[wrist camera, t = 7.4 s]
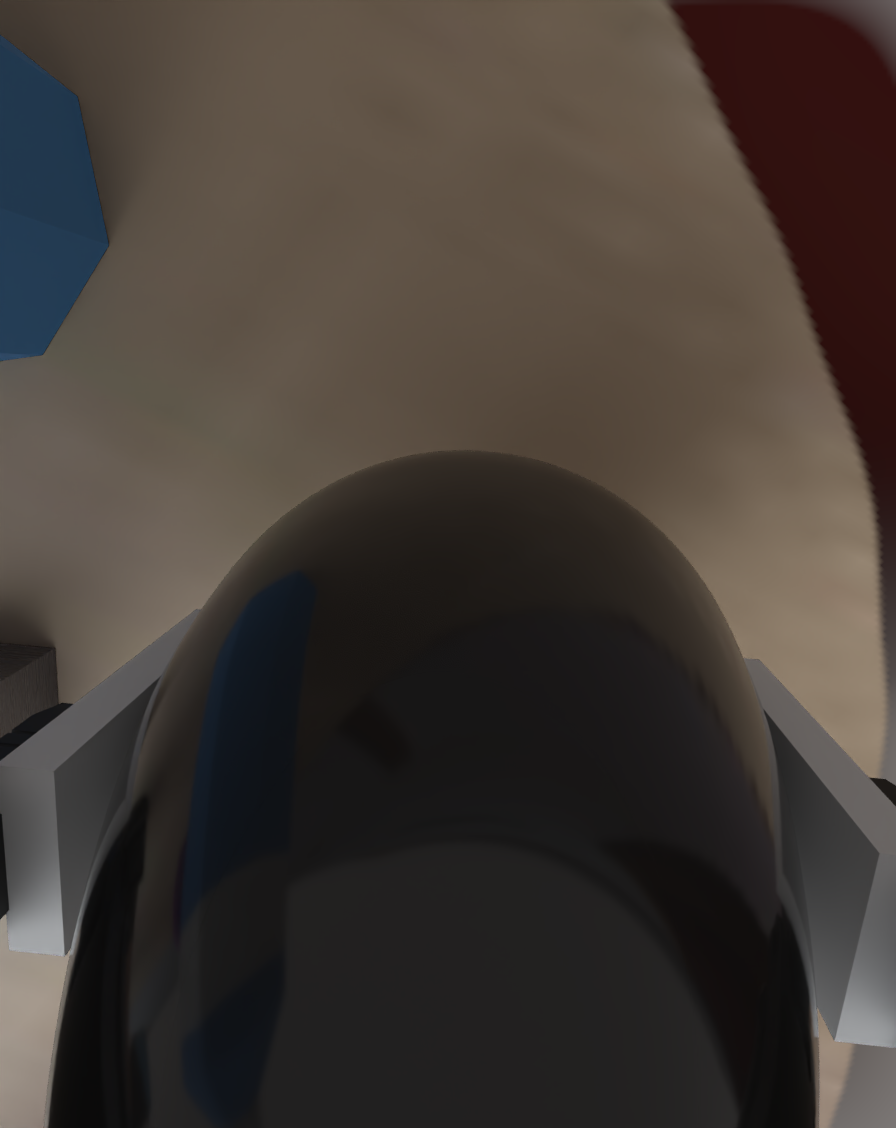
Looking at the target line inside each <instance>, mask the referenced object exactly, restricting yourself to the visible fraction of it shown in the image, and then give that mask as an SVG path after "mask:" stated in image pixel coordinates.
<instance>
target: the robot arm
mask: <svg viewBox="0 0 896 1128" xmlns="http://www.w3.org/2000/svg"><path fill="white" fill-rule="evenodd" d="M200 611H201V610H199V609H196V610H195V611H193V612H192V613H191V614H189V615H188V616H187V617H186V618H184V619H183V620H182V621H180V622H179V623H178V624H177V625H175V626H174V627H173V628H171V629H170V630H169V631H168V632H166V633H165V634H164V635H162V636H161V637H160V638H158V639H157V640H156V641H155V642H153V643H152V644H151V645H149V646H148V647H147V648H146V649H144V650H143V651H142V652H140V653H139V654H138V655H136V656H135V657H134V658H133V659H131V660H130V661H129V662H127V663H126V664H125V665H124V666H122V667H121V668H120V669H118V670H117V671H116V672H114V673H113V674H112V675H111V676H109V677H108V678H107V679H105V680H104V681H103V682H102V683H100V684H99V685H98V686H96V687H95V688H94V689H92V690H91V691H90V692H89V693H87V694H86V695H85V696H83V697H82V698H81V699H80V700H78V701H77V702H76V703H74V704H68V703H61V704H58V705H56V706H53V707H51V708H48V709H46V710H43V711H41V712H38V713H36V714H33V715H31V716H30V717H29V718H27V719H26V720H25V721H23V722H22V723H20V724H19V725H18V726H16V727H15V728H14V729H12V732H11V733H7V734H5V735H4V736H3V737H1V738H0V919H1V918H2V917H3V916H4V915H5V914H6V916H7V928H8V941H9V950H11V951H20V952H29V953H38V954H47V955H56V956H65V955H66V954H67V953H68V951H69V950H70V949H71V946H72V941H73V936H74V932H75V927H76V923H77V919H78V915H79V910H80V906H81V902H82V898H83V894H84V890H85V886H86V883H87V879H88V875H89V871H90V867H91V863H92V860H93V856H94V852H95V849H96V845H97V842H98V838H99V835H100V831H101V828H102V824H103V821H104V818H105V815H106V812H107V808H108V805H109V802H110V799H111V796H112V793H113V790H114V787H115V784H116V781H117V778H118V775H119V772H120V770H121V767H122V764H123V762H124V759H125V756H126V754H127V751H128V748H129V746H130V743H131V741H132V738H133V736H134V733H135V731H136V728H137V726H138V724H139V722H140V719H141V717H142V715H143V713H144V710H145V708H146V706H147V704H148V701H149V699H150V697H151V695H152V693H153V691H154V689H155V687H156V685H157V683H158V681H159V679H160V677H161V675H162V673H163V671H164V670H165V668H166V666H167V664H168V662H169V660H170V659H171V657H172V655H173V653H174V652H175V650H176V648H177V647H178V645H179V643H180V642H181V640H182V638H183V637H184V635H185V633H186V632H187V630H188V629H189V627H190V626H191V624H192V623H193V621H194V620H195V618H196V617H197V615H198V614H199V612H200ZM743 659H744V661H745V663H746V666H747V668H748V670H749V673H750V675H751V678H752V680H753V683H754V685H755V688H756V691H757V693H758V696H759V699H760V702H761V704H762V707H763V710H764V713H765V716H766V719H767V722H768V725H769V728H770V731H771V735H772V738H773V741H774V744H775V748H776V751H777V755H778V758H779V762H780V766H781V770H782V774H783V778H784V782H785V787H786V791H787V795H788V800H789V804H790V809H791V814H792V819H793V825H794V830H795V835H796V841H797V846H798V852H799V858H800V864H801V870H802V876H803V883H804V889H805V896H806V904H807V911H808V919H809V927H810V936H811V944H812V953H813V962H814V973H815V984H816V997H817V1007H818V1009H819V1011H820V1013H821V1015H822V1017H823V1019H824V1021H825V1023H826V1025H827V1027H828V1029H829V1031H830V1033H831V1035H832V1037H833V1039H834V1041H837V1042H846V1043H855V1044H864V1045H873V1046H883V1047H892V1048H896V786H895V785H894V784H892V783H890V782H889V781H887V780H886V779H878V778H869V777H868V776H867V775H866V774H865V773H864V772H863V771H862V770H861V769H860V767H859V766H858V765H857V764H856V763H855V762H854V761H853V760H852V759H851V758H850V757H849V756H848V755H847V753H846V752H845V751H844V750H843V749H842V748H841V747H840V746H839V745H838V744H837V743H836V742H835V741H834V739H833V738H832V737H831V736H830V735H829V734H828V733H827V732H826V731H825V730H824V729H823V728H822V727H821V725H820V724H819V723H818V722H817V721H816V720H815V719H814V718H813V717H812V716H811V715H810V714H809V713H808V711H807V710H806V709H805V708H804V707H803V706H802V705H801V704H800V703H799V702H798V701H797V700H796V699H795V697H794V696H793V695H792V694H791V693H790V692H789V691H788V690H787V689H786V688H785V687H784V686H783V685H782V683H781V682H780V681H779V680H778V679H777V678H776V677H775V676H774V675H773V674H772V673H771V672H770V671H769V669H768V668H767V667H766V666H765V665H764V664H763V663H762V662H761V661H760V660H758V659H747V658H743Z"/></svg>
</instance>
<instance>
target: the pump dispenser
mask: <svg viewBox="0 0 896 1128" xmlns="http://www.w3.org/2000/svg"><path fill="white" fill-rule="evenodd" d="M43 1128H819V1035H818V1014H817V997H816V984H815V973H814V962H813V953H812V944H811V936H810V927H809V919H808V911H807V904H806V896H805V889H804V883H803V876H802V870H801V864H800V858H799V852H798V846H797V841H796V835H795V830H794V825H793V819H792V814H791V809H790V804H789V800H788V795H787V791H786V787H785V782H784V778H783V774H782V770H781V766H780V762H779V758H778V755H777V751H776V748H775V744H774V741H773V738H772V735H771V731H770V728H769V725H768V722H767V719H766V716H765V713H764V710H763V707H762V704H761V702H760V699H759V696H758V693H757V691H756V688H755V685H754V683H753V680H752V678H751V675H750V673H749V670H748V668H747V666H746V663H745V661H744V659H743V656H742V654H741V651H740V649H739V647H738V644H737V642H736V640H735V638H734V635H733V633H732V631H731V629H730V627H729V625H728V623H727V621H726V619H725V617H724V615H723V613H722V611H721V609H720V608H719V606H718V604H717V602H716V600H715V599H714V597H713V595H712V594H711V592H710V591H709V589H708V587H707V586H706V584H705V583H704V581H703V580H702V579H701V577H700V576H699V574H698V573H697V572H696V570H695V569H694V567H693V566H692V565H691V564H690V562H689V561H688V560H687V559H686V557H685V556H684V555H683V554H682V553H681V552H680V550H679V549H678V548H677V547H676V546H675V545H674V544H673V542H672V541H671V540H670V539H669V538H668V537H667V536H666V535H665V534H664V533H663V532H662V531H661V530H660V529H659V528H658V527H657V526H655V525H654V524H653V523H652V522H651V521H650V520H649V519H648V518H646V517H645V516H644V515H643V514H642V513H640V512H639V511H638V510H637V509H635V508H634V507H633V506H631V505H630V504H629V503H627V502H626V501H625V500H623V499H622V498H620V497H619V496H617V495H616V494H614V493H612V492H611V491H609V490H607V489H606V488H604V487H602V486H600V485H599V484H597V483H595V482H593V481H591V480H589V479H587V478H585V477H583V476H581V475H578V474H576V473H574V472H571V471H569V470H566V469H564V468H561V467H558V466H555V465H553V464H549V463H546V462H543V461H539V460H536V459H532V458H528V457H523V456H518V455H513V454H506V453H499V452H490V451H474V450H453V451H438V452H428V453H421V454H415V455H410V456H405V457H400V458H396V459H393V460H389V461H385V462H382V463H379V464H376V465H373V466H370V467H367V468H365V469H362V470H360V471H357V472H355V473H353V474H350V475H348V476H346V477H344V478H342V479H340V480H338V481H336V482H334V483H332V484H330V485H328V486H326V487H325V488H323V489H321V490H319V491H318V492H316V493H315V494H313V495H311V496H310V497H308V498H307V499H305V500H304V501H302V502H301V503H300V504H298V505H297V506H295V507H294V508H293V509H291V510H290V511H289V512H288V513H286V514H285V515H284V516H282V517H281V518H280V519H279V520H278V521H277V522H275V523H274V524H273V525H272V526H271V527H270V528H268V529H267V530H266V531H265V532H264V533H263V534H262V535H261V536H260V537H259V538H258V539H257V540H256V541H255V542H254V543H253V544H252V545H251V546H250V547H249V549H248V550H247V551H246V552H245V553H244V554H243V555H242V556H241V558H240V559H239V560H238V561H237V562H236V563H235V565H234V566H233V567H232V568H231V570H230V571H229V572H228V573H227V575H226V576H225V577H224V579H223V580H222V581H221V583H220V584H219V585H218V587H217V588H216V589H215V591H214V592H213V594H212V595H211V596H210V598H209V599H208V600H207V602H206V603H205V605H204V606H203V608H202V609H201V611H200V612H199V614H198V615H197V617H196V618H195V620H194V621H193V623H192V624H191V626H190V627H189V629H188V630H187V632H186V633H185V635H184V637H183V638H182V640H181V642H180V643H179V645H178V647H177V648H176V650H175V652H174V653H173V655H172V657H171V659H170V660H169V662H168V664H167V666H166V668H165V670H164V671H163V673H162V675H161V677H160V679H159V681H158V683H157V685H156V687H155V689H154V691H153V693H152V695H151V697H150V699H149V701H148V704H147V706H146V708H145V710H144V713H143V715H142V717H141V719H140V722H139V724H138V726H137V728H136V731H135V733H134V736H133V738H132V741H131V743H130V746H129V748H128V751H127V754H126V756H125V759H124V762H123V764H122V767H121V770H120V772H119V775H118V778H117V781H116V784H115V787H114V790H113V793H112V796H111V799H110V802H109V805H108V808H107V812H106V815H105V818H104V821H103V824H102V828H101V831H100V835H99V838H98V842H97V845H96V849H95V852H94V856H93V860H92V863H91V867H90V871H89V875H88V879H87V883H86V886H85V890H84V894H83V898H82V902H81V906H80V910H79V915H78V919H77V923H76V927H75V932H74V936H73V941H72V946H71V951H70V956H69V961H68V965H67V970H66V975H65V981H64V986H63V991H62V997H61V1002H60V1008H59V1013H58V1019H57V1025H56V1031H55V1037H54V1044H53V1050H52V1057H51V1064H50V1071H49V1078H48V1086H47V1095H46V1104H45V1115H44V1126H43Z"/></svg>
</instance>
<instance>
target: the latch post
mask: <svg viewBox="0 0 896 1128" xmlns="http://www.w3.org/2000/svg"><path fill="white" fill-rule="evenodd" d="M56 705H58V690H57V673H56V655H55V648H49V647H38V646H27V645H16V644H5V643H0V738H1V737H3V736H4V735H5V734H7V733H11V732H12V729H14V728H15V727H16V726H18V725H19V724H20V723H22V722H23V721H25V720H26V719H27V718H29V717H30V716H31V715H33V714H36V713H38V712H41V711H43V710H46V709H48V708H51V707H53V706H56Z"/></svg>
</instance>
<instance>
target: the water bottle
mask: <svg viewBox="0 0 896 1128" xmlns="http://www.w3.org/2000/svg"><path fill="white" fill-rule="evenodd" d="M108 246H109V243H108V238H107V234H106V229H105V224H104V220H103V215H102V210H101V205H100V201H99V196H98V191H97V187H96V182H95V177H94V172H93V168H92V163H91V158H90V153H89V149H88V144H87V139H86V135H85V130H84V125H83V120H82V116H81V111H80V106H79V102H78V97H77V96H76V95H75V94H74V93H72V92H71V91H70V90H69V89H67V88H66V87H65V86H64V85H62V84H61V83H60V82H59V81H57V80H56V79H55V78H54V77H52V76H51V75H50V74H49V73H47V72H46V71H45V70H44V69H42V68H41V67H40V66H39V65H37V64H36V63H35V62H34V61H32V60H31V59H30V58H29V57H27V56H26V55H25V54H24V53H22V52H21V51H20V50H19V49H17V48H16V47H15V46H14V45H12V44H11V43H10V42H9V41H8V40H6V39H5V38H4V37H3V36H1V35H0V361H3V360H10V359H18V358H25V357H32V356H40V355H43V353H44V352H45V350H46V348H47V347H48V345H49V343H50V342H51V340H52V339H53V337H54V335H55V334H56V332H57V330H58V329H59V327H60V325H61V324H62V322H63V320H64V319H65V317H66V315H67V314H68V312H69V310H70V309H71V307H72V305H73V304H74V302H75V301H76V299H77V297H78V296H79V294H80V292H81V291H82V289H83V287H84V286H85V284H86V282H87V281H88V279H89V277H90V276H91V274H92V272H93V271H94V269H95V267H96V266H97V264H98V263H99V261H100V259H101V258H102V256H103V254H104V253H105V251H106V249H107V248H108Z"/></svg>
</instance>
